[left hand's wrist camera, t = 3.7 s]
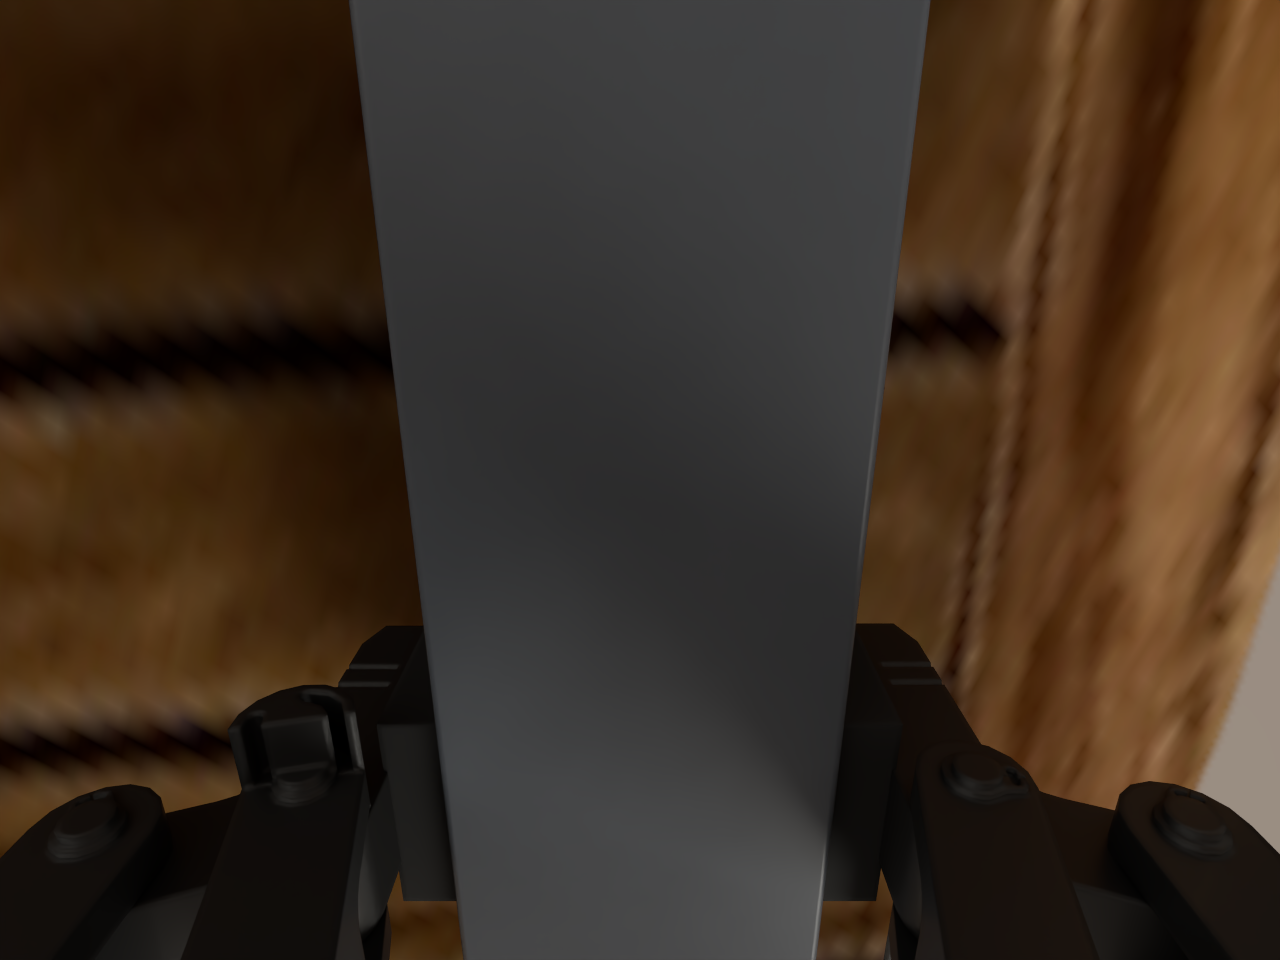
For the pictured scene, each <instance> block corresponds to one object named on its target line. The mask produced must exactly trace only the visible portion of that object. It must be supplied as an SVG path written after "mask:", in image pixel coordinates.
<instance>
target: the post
mask: <svg viewBox="0 0 1280 960" xmlns="http://www.w3.org/2000/svg"><path fill="white" fill-rule="evenodd" d="M349 7H350V16H351V24H352V32H353V41H354V49H355V57H356V66H357V74H358V82H359V91H360V99H361V107H362V116H363V124H364V132H365V141H366V149H367V157H368V166H369V174H370V183H371V191H372V199H373V208H374V216H375V224H376V233H377V241H378V249H379V258H380V266H381V274H382V283H383V291H384V299H385V308H386V316H387V325H388V333H389V341H390V350H391V358H392V366H393V375H394V383H395V391H396V400H397V408H398V416H399V425H400V433H401V441H402V450H403V458H404V466H405V475H406V483H407V492H408V500H409V508H410V517H411V525H412V533H413V542H414V550H415V558H416V567H417V575H418V583H419V592H420V600H421V608H422V617H423V625H424V634H425V642H426V650H427V659H428V667H429V675H430V684H431V692H432V700H433V709H434V717H435V725H436V734H437V742H438V750H439V759H440V767H441V776H442V784H443V792H444V801H445V809H446V817H447V826H448V834H449V842H450V851H451V859H452V867H453V876H454V884H455V892H456V901H457V909H458V917H459V926H460V934H461V943H462V951H463V959H464V960H816V955H817V947H818V938H819V930H820V921H821V913H822V905H823V896H824V888H825V880H826V871H827V863H828V854H829V846H830V838H831V829H832V821H833V813H834V804H835V796H836V787H837V779H838V771H839V762H840V754H841V745H842V737H843V729H844V720H845V712H846V704H847V695H848V687H849V678H850V670H851V662H852V653H853V645H854V637H855V628H856V620H857V611H858V603H859V595H860V586H861V578H862V570H863V561H864V553H865V544H866V536H867V528H868V519H869V511H870V502H871V494H872V486H873V477H874V469H875V461H876V452H877V444H878V435H879V427H880V419H881V410H882V402H883V394H884V385H885V377H886V368H887V360H888V352H889V343H890V335H891V326H892V318H893V310H894V301H895V293H896V285H897V276H898V268H899V259H900V251H901V243H902V234H903V226H904V218H905V209H906V201H907V192H908V184H909V176H910V167H911V159H912V151H913V142H914V134H915V125H916V117H917V109H918V100H919V92H920V83H921V75H922V67H923V58H924V50H925V42H926V33H927V25H928V16H929V8H930V0H349Z"/></svg>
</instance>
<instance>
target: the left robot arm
mask: <svg viewBox="0 0 1280 960" xmlns="http://www.w3.org/2000/svg"><path fill="white" fill-rule="evenodd" d="M228 733H229V737H230V741H231V746H232V750H233V754H234V758H235V762H236V766H237V770H238V775H239V779H240V783H241V787H242V790H241V793H240V794H239V795H237V796H233V797H230V798H227V799H224V800H220V801H217V802H213V803H208V804H204V805H200V806H195V807H191V808H187V809H182V810H178V811H174V812H170V813H165V811H164V807H163V804H162V800H161V797H160V796H158V795H157V794H156V793H155V792H154V791H153V790H152V789H151V788H148V787H143V786H137V785H132V784H129V785H121V786H113V787H105V788H102V789H99V790H96V791H93V792H90V793H87V794H84V795H81V796H78V797H76V798H75V799H73V800H71V801H69V802H67V803H65V804H63V805H62V806H60V807H58V808H56V809H54V810H52V811H51V812H49V813H48V814H47V815H46V816H45V817H43V818H42V819H41V820H40V821H38V822H37V823H36V824H35V825H33V826H32V827H31V828H30V829H29V830H28V831H27V832H26V833H25V834H24V835H23V836H22V837H21V838H20V839H19V840H18V841H17V842H16V843H15V844H14V845H13V846H12V847H11V848H10V849H9V850H8V851H7V852H6V853H5V854H4V855H3V856H2V857H1V858H0V960H389V956H390V945H391V933H392V932H391V925H390V919H389V912H388V906H387V902H388V899H389V896H390V894H391V891H392V888H393V885H394V882H395V880H396V877H397V874H398V871H399V874H400V880H401V887H402V893H403V900H404V901H456V892H455V884H454V876H453V867H452V859H451V851H450V842H449V834H448V826H447V817H446V809H445V801H444V792H443V784H442V776H441V767H440V759H439V750H438V742H437V734H436V725H435V717H434V709H433V700H432V692H431V684H430V675H429V667H428V659H427V650H426V642H425V634H424V626H386V627H384V628H383V629H382V630H380V631H379V632H378V633H376V634H375V635H374V636H372V637H371V638H370V639H368V640H367V641H366V642H364V643H363V644H362V645H361V647H360V649H359V650H358V652H357V654H356V655H355V657H354V658H353V660H352V662H351V663H350V665H349V669H347V670H346V671H345V673H344V675H343V676H342V678H341V680H340V681H339V685H338V687H336V688H335V687H332V686H328V685H302V686H298V687H293V688H289V689H285V690H280V691H278V692H276V693H273V694H271V695H269V696H267V697H264V698H262V699H260V700H258V701H256V702H255V703H253V704H252V705H251V706H249V707H248V708H247V709H245V710H244V711H243V712H241V713H240V714H239V715H238V716H237V717H236V719H235V720H234V722H233V723H232V724H231V726H230V727H229V728H228ZM881 869H882V872H883V874H884V877H885V880H886V883H887V886H888V888H889V891H890V894H891V897H892V900H893V906H892V912H891V918H890V924H889V931H888V937H887V943H886V949H885V955H884V960H1280V854H1279V853H1278V852H1277V851H1276V850H1275V849H1274V848H1273V847H1272V846H1271V845H1270V844H1269V843H1268V842H1267V841H1266V840H1265V839H1264V838H1263V837H1262V836H1261V835H1260V834H1259V833H1258V832H1257V831H1256V830H1255V829H1254V828H1253V827H1252V826H1251V825H1250V824H1249V823H1247V822H1246V821H1245V820H1244V819H1243V818H1241V817H1240V816H1239V815H1238V814H1236V813H1235V812H1234V811H1233V810H1231V809H1230V808H1229V807H1227V806H1225V805H1223V804H1221V803H1219V802H1217V801H1216V800H1214V799H1212V798H1210V797H1208V796H1206V795H1204V794H1203V793H1200V792H1197V791H1194V790H1191V789H1188V788H1185V787H1182V786H1179V785H1176V784H1169V783H1161V782H1152V781H1148V782H1143V783H1137V784H1132V785H1130V786H1129V787H1127V788H1126V789H1125V790H1124V791H1123V792H1122V793H1121V794H1120V795H1119V798H1118V802H1117V805H1116V809H1115V810H1111V809H1106V808H1102V807H1098V806H1093V805H1089V804H1085V803H1080V802H1076V801H1072V800H1067V799H1063V798H1060V797H1056V796H1053V795H1050V794H1046V793H1043V792H1041V791H1039V789H1038V787H1037V786H1036V784H1035V782H1034V781H1033V779H1032V778H1031V776H1030V774H1029V773H1028V772H1027V771H1026V770H1025V769H1024V768H1023V767H1021V766H1020V765H1019V764H1018V763H1017V762H1015V761H1014V760H1013V759H1012V758H1011V757H1009V756H1007V755H1005V754H1003V753H1001V752H999V751H997V750H995V749H993V748H991V747H989V746H985V745H981V743H980V742H979V740H978V738H977V737H976V735H975V734H974V732H973V730H972V729H971V727H970V726H969V724H968V722H967V721H966V719H965V717H964V716H963V714H962V713H961V711H960V709H959V708H958V706H957V705H956V703H955V701H954V700H953V698H952V696H951V695H950V693H949V692H948V690H947V688H946V687H945V685H942V683H941V679H940V677H939V675H938V674H937V672H936V671H935V669H934V667H931V663H930V661H929V659H928V658H927V656H926V654H925V653H924V651H923V650H922V648H921V646H920V645H919V643H918V642H917V641H916V640H915V639H913V638H912V637H911V636H909V635H908V634H907V633H905V632H904V631H903V630H901V629H900V628H899V627H897V626H896V625H895V624H856V628H855V637H854V645H853V653H852V662H851V670H850V678H849V687H848V695H847V704H846V712H845V720H844V729H843V737H842V745H841V754H840V762H839V771H838V779H837V787H836V796H835V804H834V813H833V821H832V829H831V838H830V846H829V854H828V863H827V871H826V880H825V888H824V896H823V901H876V897H877V891H878V884H879V878H880V871H881Z"/></svg>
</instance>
